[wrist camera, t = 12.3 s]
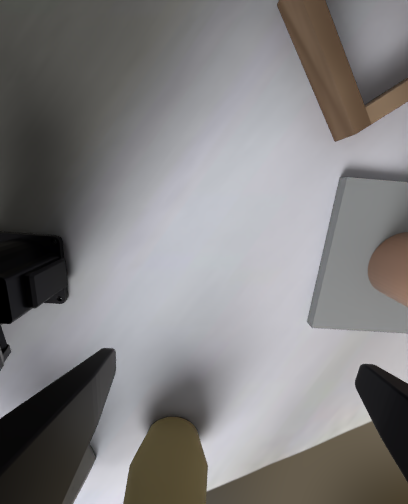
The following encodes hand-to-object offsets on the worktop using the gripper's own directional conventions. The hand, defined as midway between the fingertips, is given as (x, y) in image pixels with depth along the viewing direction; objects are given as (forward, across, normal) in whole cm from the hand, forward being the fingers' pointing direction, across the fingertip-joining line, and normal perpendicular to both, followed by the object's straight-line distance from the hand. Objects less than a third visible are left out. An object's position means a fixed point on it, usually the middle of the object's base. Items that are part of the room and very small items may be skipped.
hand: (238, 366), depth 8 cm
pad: (+13, -17, -1) cm, 21 cm away
